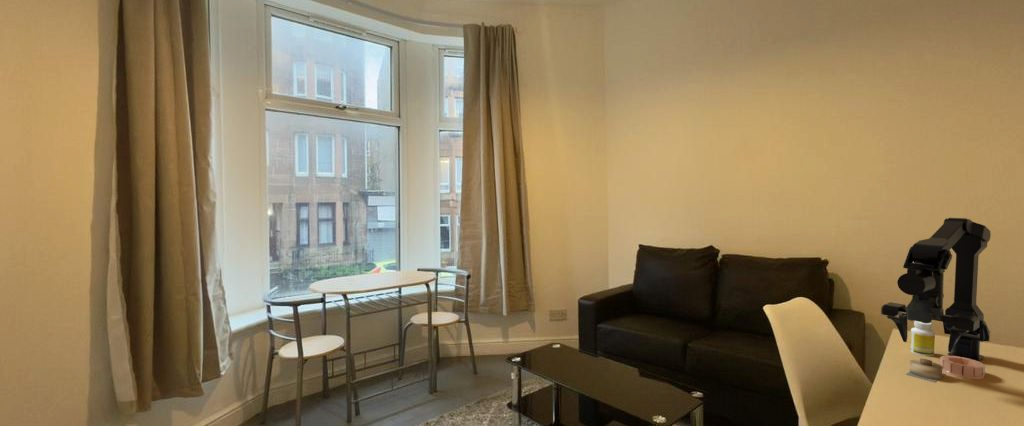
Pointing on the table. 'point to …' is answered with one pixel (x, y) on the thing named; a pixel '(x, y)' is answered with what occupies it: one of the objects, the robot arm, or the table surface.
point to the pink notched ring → (962, 367)
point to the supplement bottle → (922, 339)
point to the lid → (926, 369)
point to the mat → (923, 378)
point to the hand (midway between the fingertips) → (926, 346)
